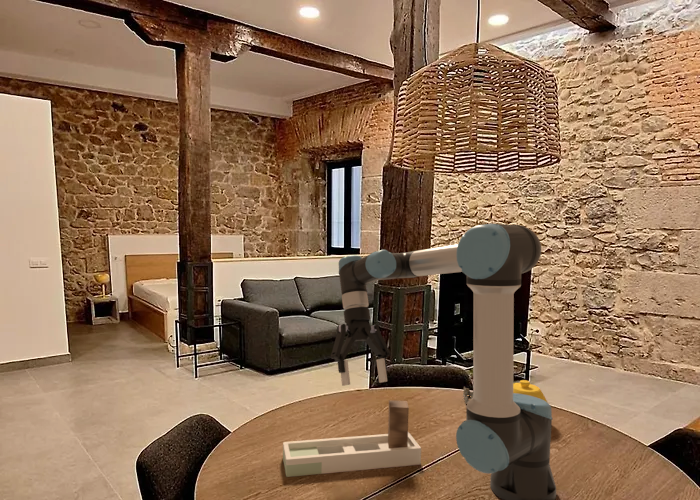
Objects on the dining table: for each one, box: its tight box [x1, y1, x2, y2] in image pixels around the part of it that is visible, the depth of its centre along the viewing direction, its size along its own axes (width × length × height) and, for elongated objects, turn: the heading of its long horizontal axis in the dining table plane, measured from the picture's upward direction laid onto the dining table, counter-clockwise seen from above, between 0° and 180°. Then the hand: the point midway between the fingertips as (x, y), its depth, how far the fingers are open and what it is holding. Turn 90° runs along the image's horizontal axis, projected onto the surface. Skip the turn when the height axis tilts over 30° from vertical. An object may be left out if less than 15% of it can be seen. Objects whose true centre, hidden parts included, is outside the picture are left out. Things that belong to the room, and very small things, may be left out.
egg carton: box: [462, 386, 473, 404], centre depth 178 cm, size 11×8×4 cm
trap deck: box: [282, 431, 422, 478], centre depth 132 cm, size 36×10×4 cm, turn 103°
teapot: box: [513, 379, 548, 403], centre depth 160 cm, size 20×16×14 cm
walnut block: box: [387, 399, 409, 449], centre depth 134 cm, size 5×5×12 cm
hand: (365, 383), depth 135 cm, fingers open, 13 cm apart
